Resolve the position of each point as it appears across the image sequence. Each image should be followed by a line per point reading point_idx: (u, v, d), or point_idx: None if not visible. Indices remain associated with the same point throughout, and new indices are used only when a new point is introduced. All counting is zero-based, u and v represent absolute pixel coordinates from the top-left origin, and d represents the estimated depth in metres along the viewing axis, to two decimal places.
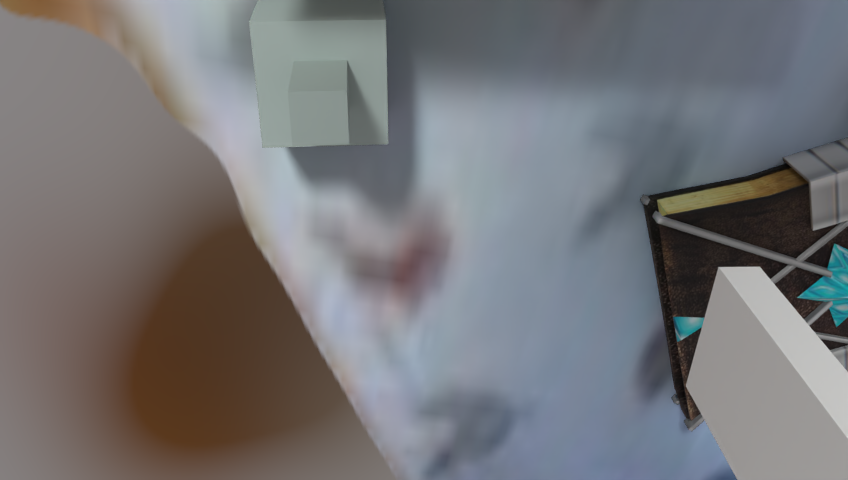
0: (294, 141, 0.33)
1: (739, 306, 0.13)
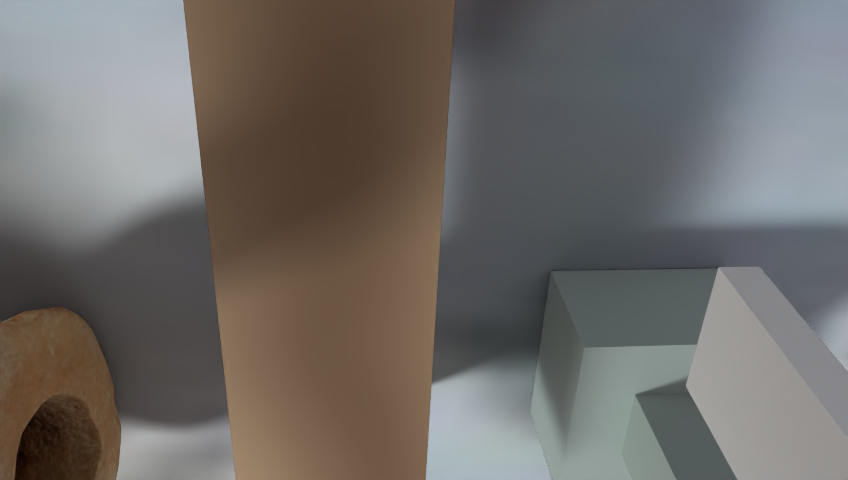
0: None
1: (739, 306, 0.13)
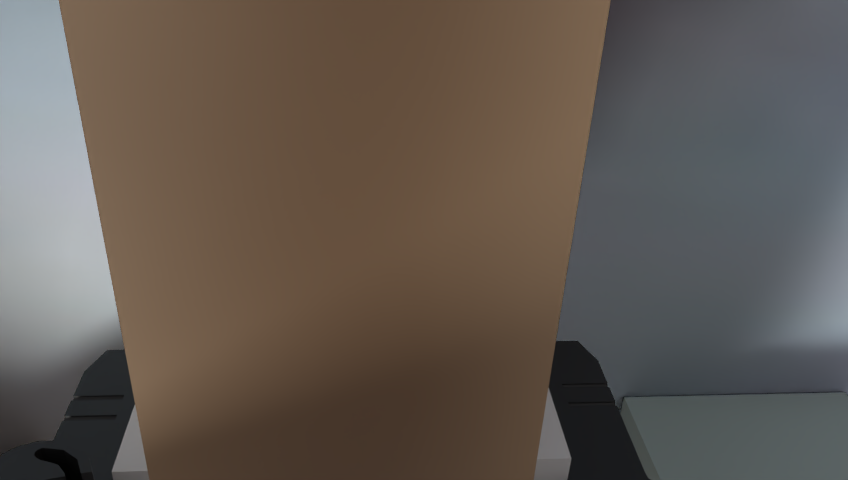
0: None
1: None
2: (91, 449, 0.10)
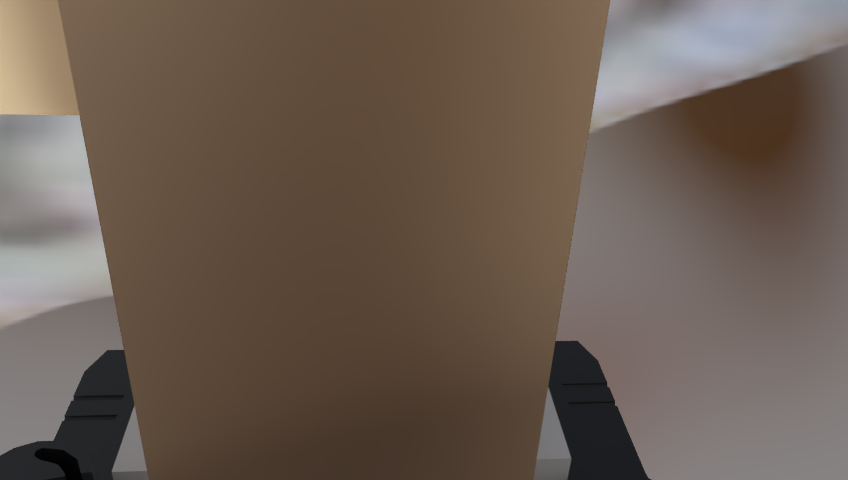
0: None
1: None
2: (91, 449, 0.10)
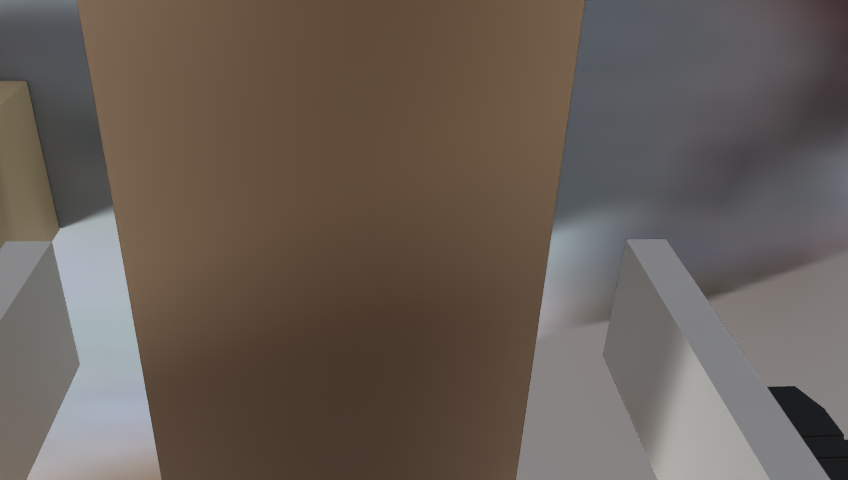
0: None
1: (640, 275, 0.14)
2: None
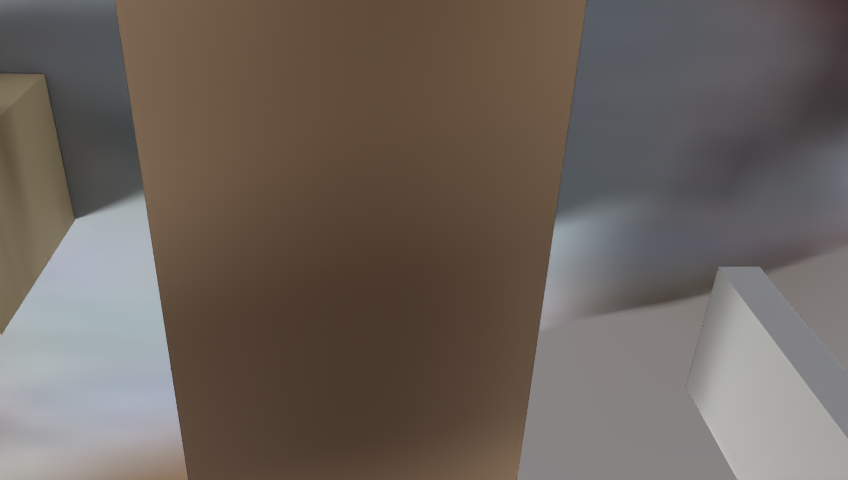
0: None
1: (738, 306, 0.13)
2: None
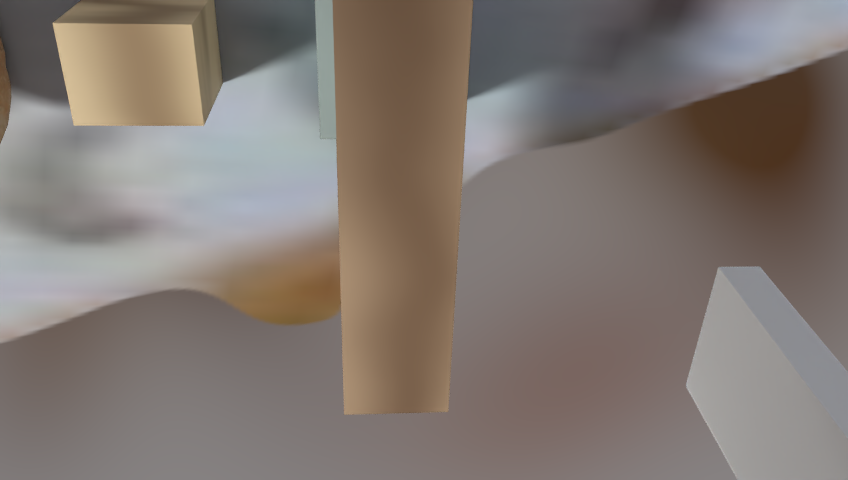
0: None
1: (739, 306, 0.13)
2: None
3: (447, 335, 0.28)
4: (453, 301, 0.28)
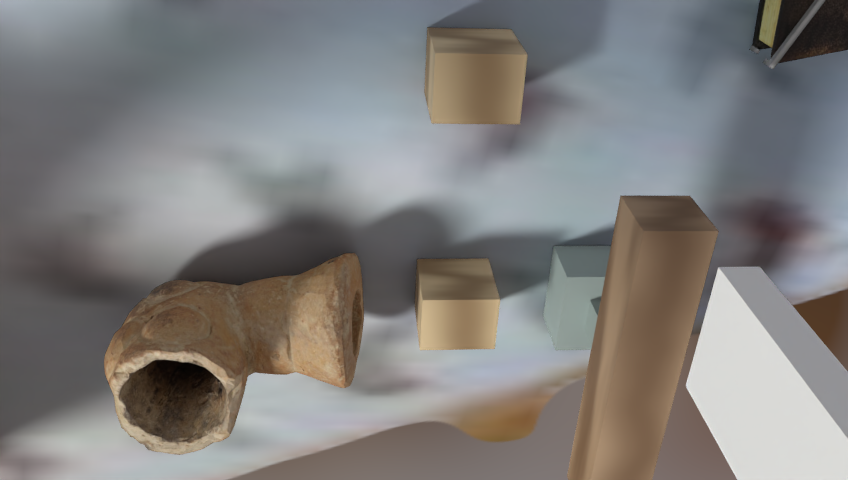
0: None
1: (739, 306, 0.13)
2: None
3: None
4: (655, 464, 0.49)
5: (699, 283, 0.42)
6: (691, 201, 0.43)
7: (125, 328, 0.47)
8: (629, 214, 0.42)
